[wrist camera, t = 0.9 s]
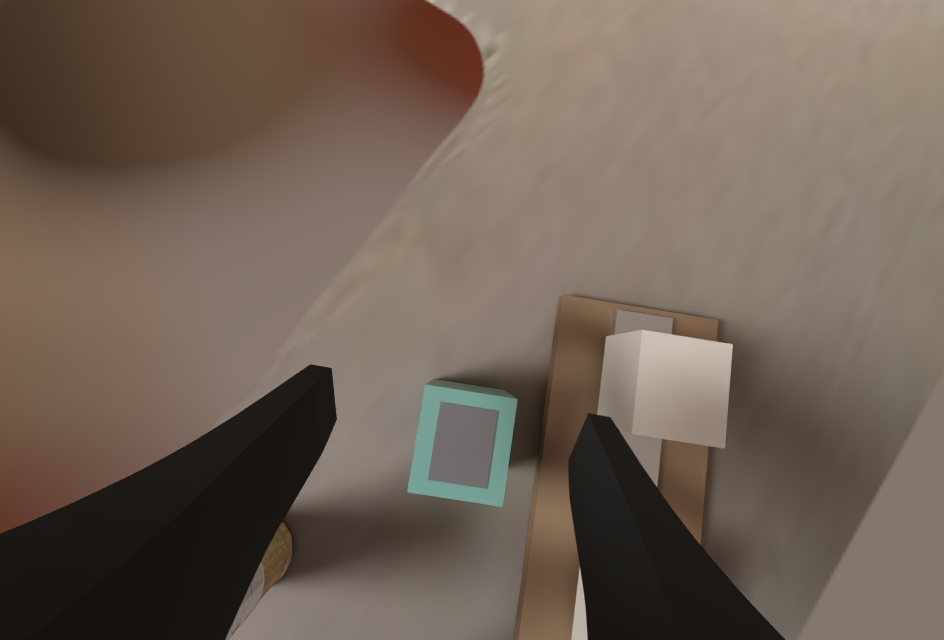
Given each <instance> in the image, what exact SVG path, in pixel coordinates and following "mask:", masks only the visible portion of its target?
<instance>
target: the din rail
mask: <svg viewBox="0 0 944 640" xmlns="http://www.w3.org/2000/svg"><path fill="white" fill-rule="evenodd" d="M672 325H673V318H668V317H661V316H655V315H649V314H643V313H637V312H630V311H624V310H618V309H617V310H614V311H613V318H612V327H611V335H616V334H621V333H627V332H633V331H638V330H647V331H653V332H660V333H666V334H672ZM618 429H619V428H618ZM619 431H620V432H621V434H622V435H623V437H624V439H625V440H626V442H627V443H628V445H629V446H630V448H631V449H632V451H633V452H634V454H635V455H636V457H637V459H638V460H639V462H640V463H641V465H642V466H643V468H644V469H645V471H646V472H647V473H648V475H649V476H650V478H651V479H652V481H653V482H654V484H655V485H656V486H657V485H658V474H659V464H660V453H661V442H662V439H660V438H654V437H647V436H641V435H635V434H630V433H628V432H626V431H623V430H621V429H619Z"/></svg>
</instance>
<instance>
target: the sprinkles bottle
mask: <svg viewBox="0 0 944 640" xmlns="http://www.w3.org/2000/svg"><path fill="white" fill-rule="evenodd" d="M291 556H292V537H291V534H290V532H289V531H288V529H287V527H286V525H285V524H284V523H283V522H282V523H281V525H280V526H279V528H278V530H277V531H276V533H275V535H274V537H273V539H272V541H271V543H270V545H269V546H268V548H267V550H266V552H265V555H264V557H263V559H262V561H261V563H260V565H259V567H258V569H257V571H256V574H255V576H254V578H253V580H252V582H251V584H250V586H249V588H248V590H247V593H246V595H245V597H244V599H243V602H242V604H241V606H240V608H239V610H238V613H237V615H236V617H235V619H234V622H233V624H232V626H231V628H230V630H229V633H228V635H227V637H226V640H229V638H230V637H231V636H232V635H233V634H234V633H235V631H236V630H237V629H238V628H239V627H240V625H241V624H242V623H243V622H244V621H245V619H246V618H247V617H248V616H249V615H250V613H251V612H252V611H253V610H254V608H255V607H256V605H257V603H258V602H259V600H260V599H261V598H262V597H263V596H264V595H265V594H266V592H267V591H268V590H269V589H270V588H271V587H272V586H273V585H274V584H275V583H277V582H278V581H279V580H280V579H281V577H282V576H283V575H284V573H285V572H286V571H287V568H288V566H289V564H290V561H291Z"/></svg>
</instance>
